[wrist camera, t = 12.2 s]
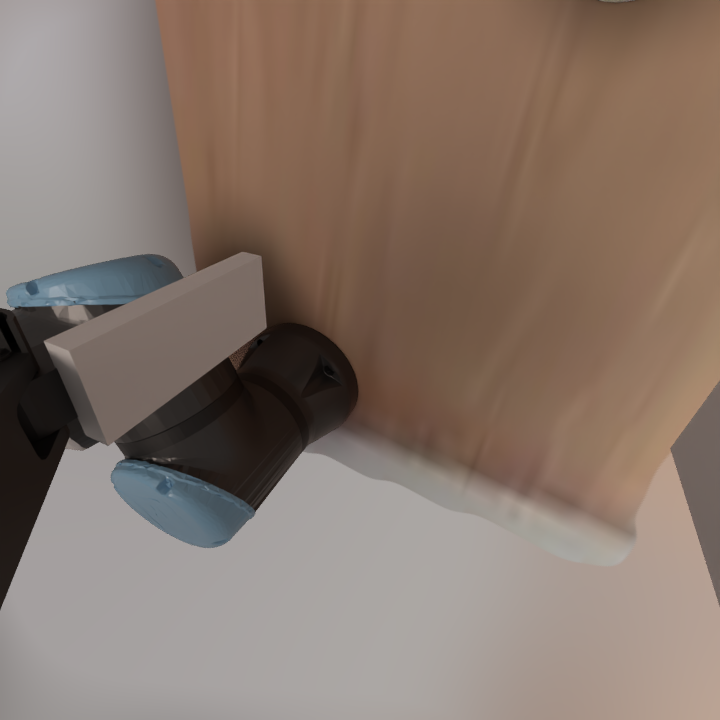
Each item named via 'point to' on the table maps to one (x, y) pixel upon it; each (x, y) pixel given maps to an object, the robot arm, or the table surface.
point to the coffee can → (615, 0)
